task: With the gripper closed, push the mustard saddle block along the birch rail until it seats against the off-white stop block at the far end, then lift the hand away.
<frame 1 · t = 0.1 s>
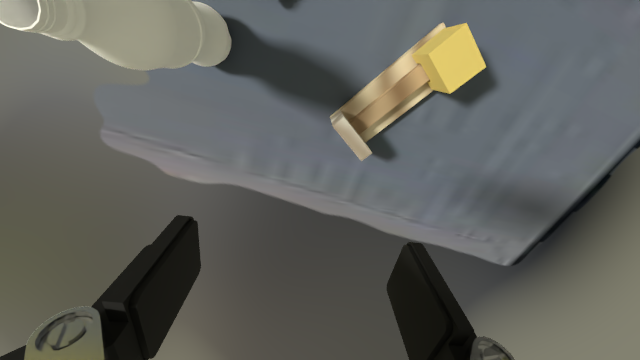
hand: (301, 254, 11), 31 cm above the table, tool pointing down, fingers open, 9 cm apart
rail: (392, 92, 37), on the table
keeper: (446, 60, 32), point 4 cm above the table, slide at 0.0 cm
water bottle: (210, 38, 34), on the table
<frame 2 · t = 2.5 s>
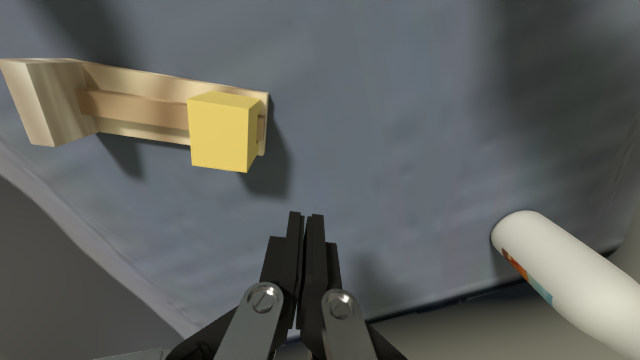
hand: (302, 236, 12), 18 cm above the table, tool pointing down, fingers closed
rail: (176, 109, 26), on the table
milk bottle: (513, 228, 36), on the table
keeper: (228, 130, 23), point 4 cm above the table, slide at 0.0 cm
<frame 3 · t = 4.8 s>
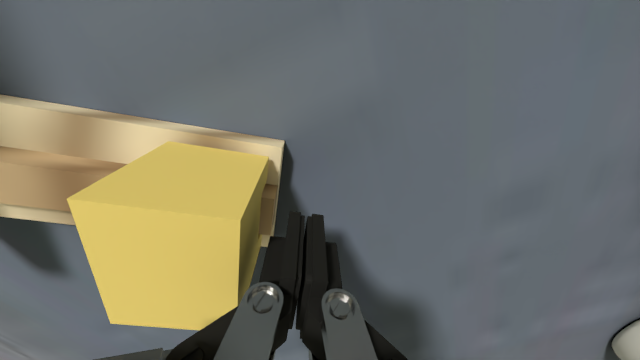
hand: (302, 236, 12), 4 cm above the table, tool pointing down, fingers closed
rail: (109, 169, 14), on the table
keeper: (199, 229, 11), point 4 cm above the table, slide at 0.1 cm, touching gripper
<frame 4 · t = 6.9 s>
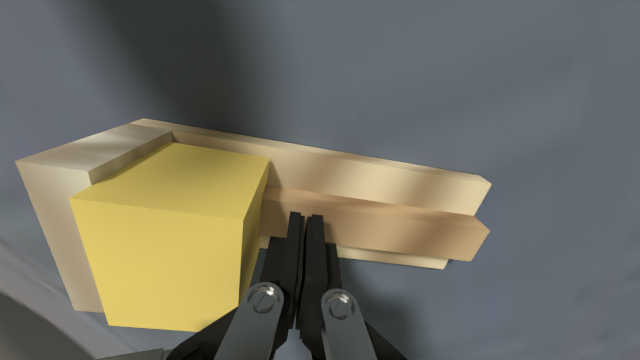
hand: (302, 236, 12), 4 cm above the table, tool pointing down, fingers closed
rail: (315, 199, 15), on the table
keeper: (200, 230, 11), point 4 cm above the table, slide at 12.5 cm, touching gripper, rail
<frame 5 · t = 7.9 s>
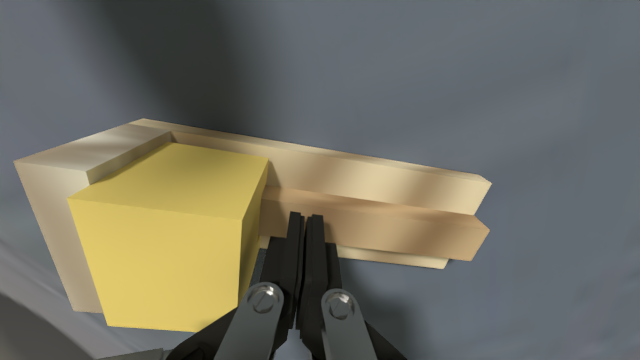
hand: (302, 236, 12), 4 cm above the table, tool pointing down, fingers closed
rail: (314, 199, 15), on the table
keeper: (199, 230, 11), point 4 cm above the table, slide at 12.5 cm, touching gripper, rail
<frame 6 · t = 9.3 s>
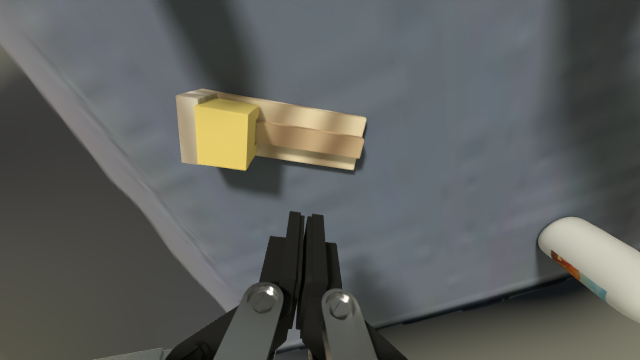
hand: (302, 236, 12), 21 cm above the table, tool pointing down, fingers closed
rail: (283, 130, 31), on the table
milk bottle: (558, 232, 40), on the table
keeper: (230, 132, 26), point 4 cm above the table, slide at 12.5 cm
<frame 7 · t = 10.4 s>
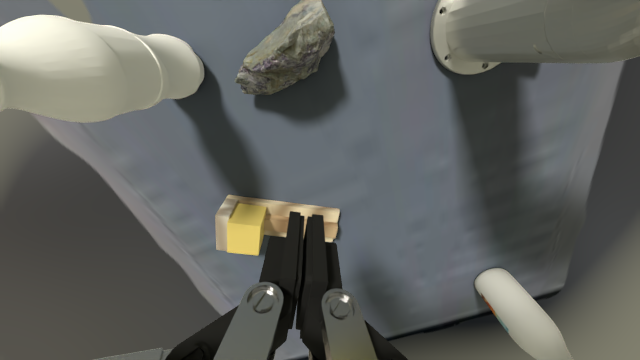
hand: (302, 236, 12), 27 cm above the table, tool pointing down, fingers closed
rail: (283, 217, 44), on the table
milk bottle: (489, 278, 54), on the table
mineral rock: (286, 49, 32), on the table
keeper: (247, 228, 40), point 4 cm above the table, slide at 12.5 cm
water bottle: (183, 67, 33), on the table
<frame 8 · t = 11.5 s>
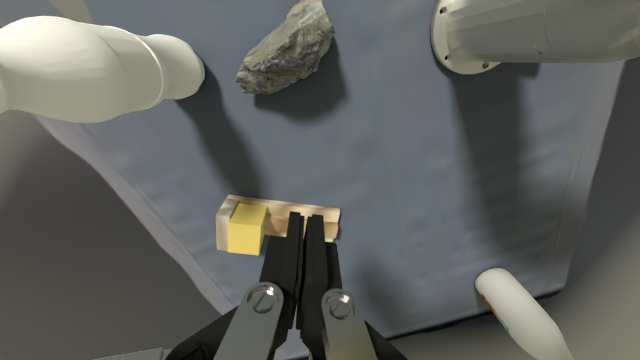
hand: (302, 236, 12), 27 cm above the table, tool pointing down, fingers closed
rail: (283, 217, 44), on the table
milk bottle: (490, 278, 54), on the table
mineral rock: (286, 48, 32), on the table
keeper: (248, 228, 40), point 4 cm above the table, slide at 12.5 cm
water bottle: (184, 67, 33), on the table
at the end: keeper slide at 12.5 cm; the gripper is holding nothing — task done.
